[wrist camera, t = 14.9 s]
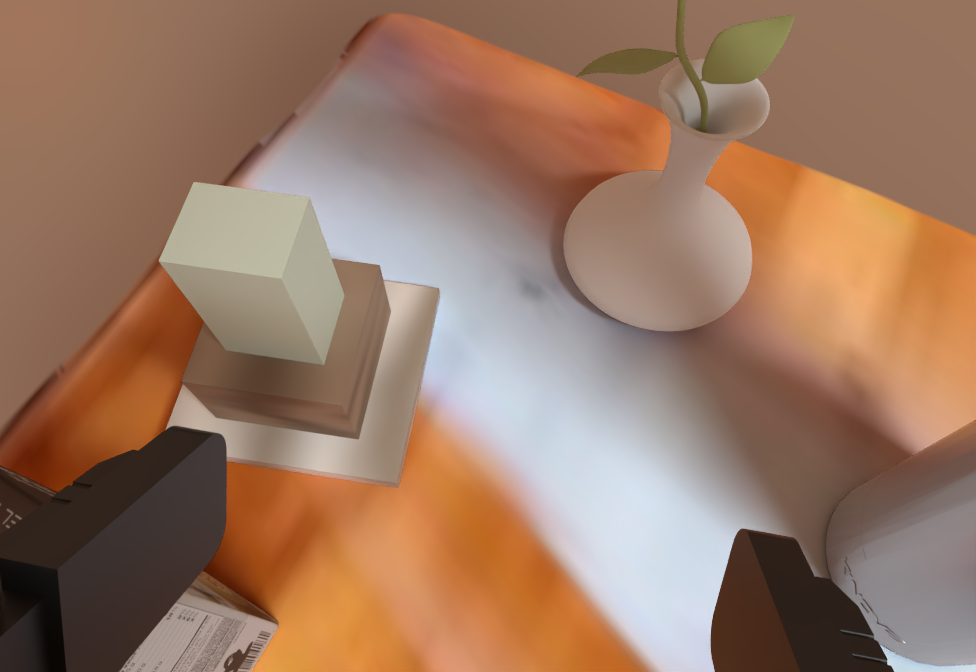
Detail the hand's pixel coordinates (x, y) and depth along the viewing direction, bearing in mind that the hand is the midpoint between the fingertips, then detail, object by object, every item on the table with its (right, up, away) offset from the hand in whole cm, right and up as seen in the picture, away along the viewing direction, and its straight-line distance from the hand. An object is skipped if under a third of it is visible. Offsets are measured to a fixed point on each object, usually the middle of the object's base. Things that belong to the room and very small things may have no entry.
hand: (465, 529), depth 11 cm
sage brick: (-10, +4, +25) cm, 27 cm away
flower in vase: (+10, +8, +34) cm, 36 cm away
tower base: (-10, +1, +30) cm, 32 cm away
